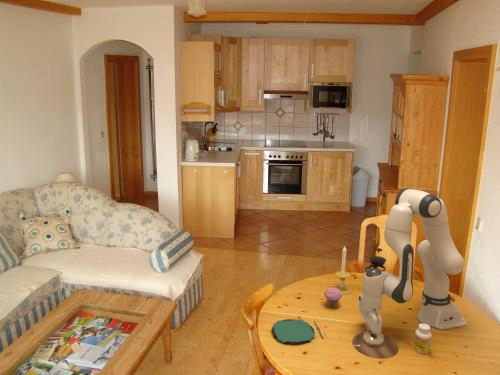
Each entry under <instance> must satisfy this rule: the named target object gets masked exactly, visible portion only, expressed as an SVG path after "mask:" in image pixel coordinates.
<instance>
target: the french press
mask: <svg viewBox="0 0 500 375" xmlns="http://www.w3.org/2000/svg"><path fill="white" fill-rule="evenodd" d="M374 251H377V256H376V255H375V256H374V255H372V256H370V257H369V261H370V264H369V265H368V266H365V269H364V271H365V272H366V271H367V270H368V269H371V268H377V269H379V268H382V270H381V269H380V270H381V271H386V266H384V265H385V264H386V262H387V259H386V258H385V257H383V256H379V255H380V254H379V253H380V252H382V251H383V249H382V248H380V247H376V248H374ZM378 267H379V268H378ZM365 272H364V273H365Z"/></svg>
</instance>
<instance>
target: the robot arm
mask: <svg viewBox="0 0 500 375" xmlns="http://www.w3.org/2000/svg"><path fill="white" fill-rule="evenodd" d="M416 216H419V217H422V218H421V219H422V226H423V232H424V233H423V234H424V237H425V239H424V240H422V241H421V242H420V243H419V244H418V245H417V250H416V251H417V255H418V257H419V258H420V261H421V264H422V268H423V273H424V286H423V290H422V294H421V305H420V308H419V311H418V313H417V316H416V317H417V319H418V320H419V322H421V324H427V325H429V326H430V327H433V328H436V329H438V330H442V331H443V330H449V329H453V328H454V329H456V328H461V327H466V326H467V321H466V319H465V318H464V317H463V315H462V311H461V309H460V308H459V307H458V306H457V305H456V304H455V303H454V302H455V301H456V298H455V297H454V296H451V294H450V293H449V290H450V278H449V277H448V275H447V274H449V275H451V276H453V275H459V274H460V273H461V272H462V271H463V270H464V268H465V259H464V257H463V256H462V255H461V253H460V252H459V250H458V249H457V247H456V245H455V243H454V240H453V238H452V234H451V230H450V223H449V222H450V221H449V217H448V212H447V207H446V205H445V202H444V200H443V199H441V198H439V197H438V196H436V195H435V194H432V193H429V192H427V191H423V190H419V189H414V188H410V187H404V188H401V189H400V190H399V191H398V193H397V194H396V196H395V201H394V205H392V206H391V208H390V211H389V213H388V215H387V219H386V223H385V226H384V231H383V239H384V241H385V244H387V246H388V247H389V248H390V249H391V250H392V251H393V252H394V253H395V255H396V257H397V258H398V261H399V273H398V277H397V275H394V274H392V273H391V272H388V271H386V270H385V271H381V269H379V268H374V267H370V268H371V269H367V270H366V272H364V275H363V278H362V288H361V289H362V294H359V295H358V300H359V301H358V311H359V313H360V315H361V316H362V318H363V319H364V322H365V326H366V327H365V329H366V331H368V330H371V331H372V332H373V333H382V323H383V322H382V317H381V315H380V314H379V312H380V311H381V310H382V302H383V298H382V296H383V295H385V296H386V297H388V298H391V299H392V300H393V301H395V302H396V303H397V304H405V303H408V302H409V301H410V300H411V299H412V297H413V295H414V285H413V278H414V260H415V258H414V257H415V250H414V247H413V246H412V242H411V233H412V227H413V220H414V218H415V217H416Z"/></svg>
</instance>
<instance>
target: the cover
mask: <svg viewBox="0 0 500 375" xmlns="http://www.w3.org/2000/svg"><path fill="white" fill-rule="evenodd" d="M363 333H364V334H363V342H364V343H365V344H366V345H367V346H370V347H374V348H378V347H381V346H383V344H384V335H385V334H383V333H382V332H381V333H373V332H372V331H371V330H368V331H367V330H366V331H364V332H363Z"/></svg>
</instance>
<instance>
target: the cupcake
mask: <svg viewBox="0 0 500 375" xmlns="http://www.w3.org/2000/svg"><path fill="white" fill-rule="evenodd" d="M324 297H325V299H326V305H327V307H328V308H333V309H336V308H338V306H339V301H340V300H341V299H342V297H343V294H342V293H341V291H340V290H338V289H337V288H335V286H333V287H328V288H327V289H326V290H325V291H324Z"/></svg>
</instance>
